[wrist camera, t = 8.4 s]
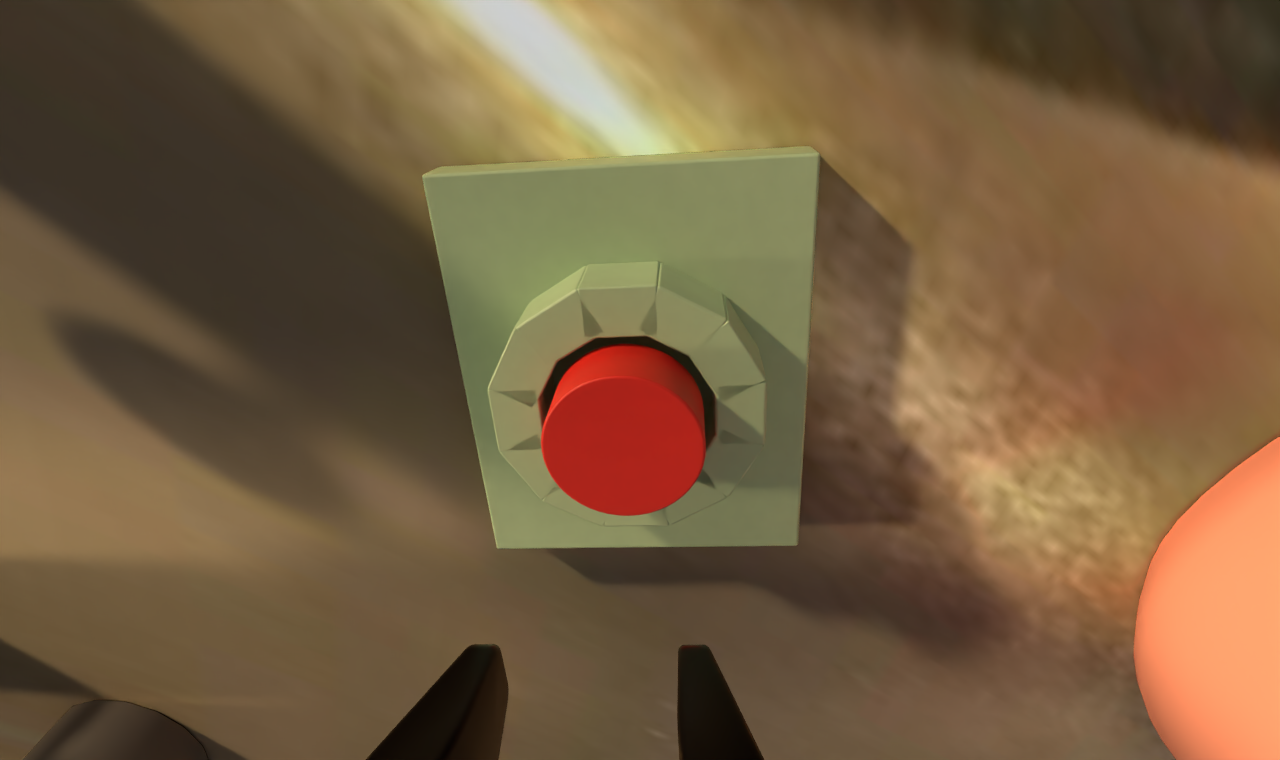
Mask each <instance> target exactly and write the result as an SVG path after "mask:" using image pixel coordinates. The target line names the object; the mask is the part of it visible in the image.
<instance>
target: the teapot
mask: <svg viewBox="0 0 1280 760" xmlns="http://www.w3.org/2000/svg"><path fill="white" fill-rule="evenodd" d="M1134 662H1135V670H1136V678H1137V681H1138V685H1139V688H1140V691H1141V694H1142V697H1143V700H1144V703H1145V706H1146V709H1147V712H1148V715H1149V717H1150V720H1151V722H1152V724H1153V725H1154V727H1155V729H1156V731H1157V732H1158V734H1159V736H1160V738H1161V739H1162V741H1163V742H1164V744H1165V745H1166V746H1167V748H1168V749H1169V751H1170V752H1171V753H1172V755H1173V756H1174V757H1175V759H1176V760H1280V437H1278V438H1276V439H1275V440H1273V441H1272V442H1270V443H1269V444H1267V445H1266V446H1265V447H1263V448H1262V449H1260V450H1259V451H1258V452H1256V453H1255V454H1254V455H1252V456H1251V457H1249V458H1248V459H1247V460H1245V461H1244V462H1243V463H1241V464H1240V465H1238V466H1237V467H1236V468H1234V469H1233V470H1232V471H1231V472H1230V473H1228V474H1227V475H1226V476H1225V477H1224V478H1222V479H1221V480H1220V481H1219V482H1218V483H1216V484H1215V485H1214V486H1213V487H1212V488H1210V489H1209V490H1208V491H1207V492H1206V493H1204V494H1203V495H1202V496H1201V497H1200V498H1199V499H1198V500H1197V501H1196V502H1195V503H1194V504H1193V505H1192V506H1191V507H1190V508H1189V509H1188V510H1187V511H1186V512H1185V513H1184V514H1183V515H1182V516H1181V517H1180V518H1179V519H1178V520H1177V522H1176V523H1175V524H1174V526H1173V527H1172V528H1171V530H1170V531H1169V532H1168V534H1167V535H1166V536H1165V538H1164V539H1163V540H1162V542H1161V543H1160V545H1159V547H1158V549H1157V551H1156V553H1155V555H1154V557H1153V559H1152V560H1151V562H1150V566H1149V569H1148V572H1147V575H1146V578H1145V581H1144V586H1143V589H1142V592H1141V595H1140V598H1139V605H1138V611H1137V619H1136V628H1135V636H1134Z"/></svg>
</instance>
